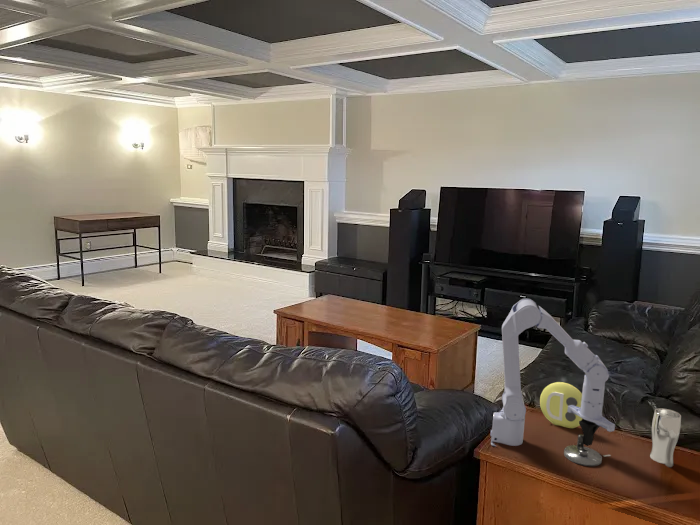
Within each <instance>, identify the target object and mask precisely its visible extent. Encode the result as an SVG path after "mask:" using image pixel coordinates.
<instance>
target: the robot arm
mask: <svg viewBox="0 0 700 525" xmlns="http://www.w3.org/2000/svg"><path fill="white" fill-rule="evenodd" d="M509 311H510V312H509V313H508V315H507V316H506V318H505V320H504V321H503V323H502V325H501V335H502V336H501V339H502V356H503V358H502V360H503V375H504V391H503V393H502V396H501V402H502V405H503V406H502V409H500V411H498V412H497V411H496V412H493V416H492V427H491V429H490V445H491V446H492V447H497V445H496V444H495V443H499V444H503V445H507V446H510V447H511V446H513V447H514V446H515V447H517V446H520V445H522V444H523V441H524V432H525V424H526V423H525V420H526V413H527V409H526V405H525V402H524V396H523V394H522V386H521V384H522V383H521V368H520V366H521V365H520V350H519V349H520V346H519V335H521V333H523V332H524V331H525V330H527V329H530V328H533V327H535V326H536V328H537V329H544V330H546V331H548V332H549V333H550V335H552V336H553V337H554V338H555V339H556V340H557V341H558V342H559V343H560V344H561V345H563V347H564V354H565V355H566V356H567V357H568V358H569V359H570V360H571V361H572V362H573V363H574V365H575V366H577V367H578V369H580V371H582V372H583V373H584V377H583V378H584V379H583V384H582V392H581V393H582V400H581V408H580V407H577V406H574V405H569V406H568V411H567V412H569V413H573V414H576V415H578V416H580V417H581V418H582V420H581V421H579V424H580V426H579V427H581V430H582V433H583V434H582V435H584V437H583V443H584V446H585V447H588V446H592V445H593V442H594V435H595V433H596V431H597V430H598V429H599V428H600V427H601V428H603V429H605V430H606V431H607V432H609V433H611V432H614V431H615V426H616V424H615V423H613V422H611V421H610V420H608V419H607V418H606V417H604V416H603V406H604V395H605V389H606V386H605V385H606V382H607V381H608V380H609V378H610V374H609V369H608V367H606V365H605V363H603V361H602V359H601V358H600V356H599V355H597V354H594V352H592V351H591V350H590V348H589V345H588V343H586V342H585V341H583V342H582V340H580V339H573V338H572V337H571V335H569V334H568V333H567V331H566V330H565V329H564V328H563V327H562V326H561V325H560V324H559V323H558V321H556V319H554V317H553V316H552V315H551V314H550V313H548V312H547V310H545V309H544V308H542V307H541V306H540V305H537V302H535V301H534V300H532V299H531V298H521V299H520V300H519V301H517V302H516V303H515V304H513V306H512V307H511V310H509Z"/></svg>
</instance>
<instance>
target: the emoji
mask: <svg viewBox="0 0 700 525" xmlns="http://www.w3.org/2000/svg"><path fill="white" fill-rule="evenodd" d="M581 400H582V392H581V391H580V390H579V389H578V388H577V387H575V386H574V385H573V384H570V383H568V382H562V381H556V382H552V383H550V384H548V385H547V386H545V387H544V388H543V389H542V391H541V394H540V397H539V406H540V409H541V412H542V414H543V416H544V417H545V418H546V419H547V420H548V421H549V422H550V423H551V424H553V425H554V426H560V427H564V428H567V429H575V428H577V427H581V426H580V424H579V421H581V420H582V418H581V417H580V416H578V415H576V414H573V413H569V412H567V411H568V406H569V405H574V406H577V407H580V408H581Z"/></svg>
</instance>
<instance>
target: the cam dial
mask: <svg viewBox="0 0 700 525" xmlns="http://www.w3.org/2000/svg"><path fill="white" fill-rule="evenodd" d="M583 437H584V434H582V433H580V434H578V435H577V442H576V444H575V445H574V444H571V445H567V446H566V447H564V450H563V455H564V457H565V458H566V459H567V460H568V461H570V462H572V463H574V464H577V465H580V466H582V467H584V466H585V467H598V466H600V465H601V464H602V462H603V461H602V460H603V457H602V456H603V455H601V453H599V452H598V451H596V450H595V449H593V448H590V447H588V446H585V445H584V443H583Z"/></svg>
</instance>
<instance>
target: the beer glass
mask: <svg viewBox="0 0 700 525" xmlns="http://www.w3.org/2000/svg"><path fill="white" fill-rule="evenodd" d="M681 421H682V415H681V414H680V413H679V412H678V411H675V410H673V409H667V408H655V409H654V413H653V418H652V422H651V442H652V443H651V444H652V446H651V452H650V454H649V457H650V459H651V460H653V461H655V462H657V463H658V464H659V463H660V464H663V465H665V466H666V467H667V468H672V467H673V466H674V452H675V448H676V445H677V443H678V440H679V436H680V432H681V425H682V422H681Z"/></svg>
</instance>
